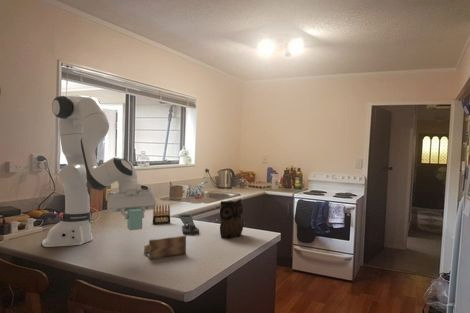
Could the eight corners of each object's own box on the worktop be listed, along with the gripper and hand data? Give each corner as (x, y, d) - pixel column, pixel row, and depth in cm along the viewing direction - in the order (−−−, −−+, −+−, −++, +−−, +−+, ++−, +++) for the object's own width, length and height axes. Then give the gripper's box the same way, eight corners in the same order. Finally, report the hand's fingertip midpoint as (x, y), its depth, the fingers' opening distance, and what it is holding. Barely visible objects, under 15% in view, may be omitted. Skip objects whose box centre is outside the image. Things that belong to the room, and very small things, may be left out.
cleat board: (150, 259, 144) (150, 240, 144) (144, 253, 152) (144, 235, 152) (185, 254, 152) (186, 236, 152) (178, 248, 160) (178, 231, 160)
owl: (244, 234, 188) (244, 198, 187) (238, 240, 176) (239, 201, 175) (222, 232, 191) (222, 197, 191) (215, 238, 179) (215, 200, 178)
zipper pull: (192, 213, 210) (200, 222, 186) (191, 224, 210) (200, 234, 187) (177, 214, 208) (183, 223, 184) (177, 225, 208) (183, 235, 184)
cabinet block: (129, 230, 141) (130, 211, 141) (127, 227, 146) (127, 208, 145) (142, 229, 143) (142, 210, 143) (138, 226, 148) (139, 208, 148)
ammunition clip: (152, 224, 209) (152, 204, 209) (152, 223, 211) (152, 204, 211) (170, 223, 213) (170, 204, 212) (169, 222, 214) (170, 203, 214)
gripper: (105, 188, 146) (109, 215, 137) (153, 186, 156) (159, 211, 147) (104, 197, 150) (107, 224, 141) (150, 195, 160) (156, 220, 151)
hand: (134, 218), depth 144 cm, fingers closed on cabinet block, 5 cm apart
